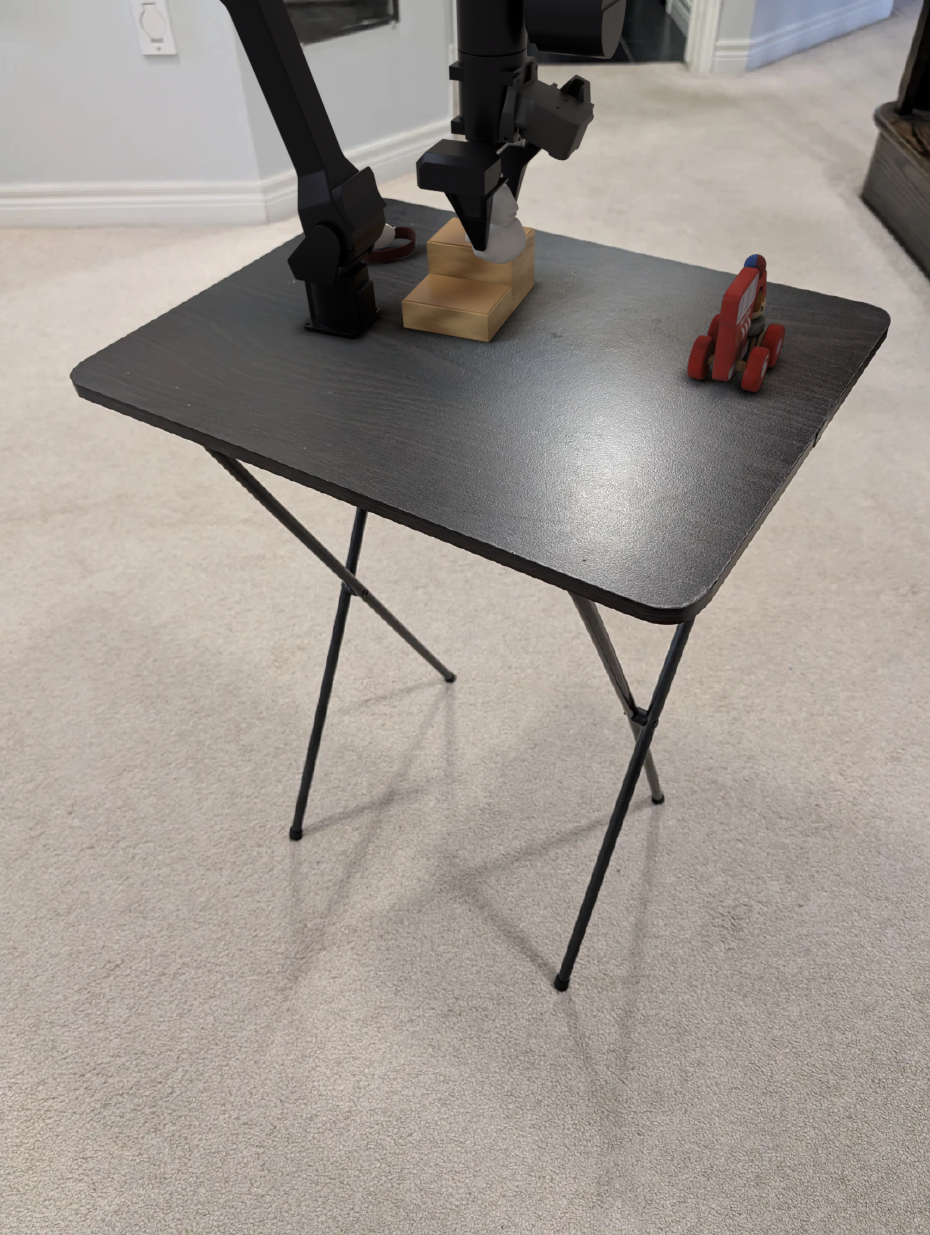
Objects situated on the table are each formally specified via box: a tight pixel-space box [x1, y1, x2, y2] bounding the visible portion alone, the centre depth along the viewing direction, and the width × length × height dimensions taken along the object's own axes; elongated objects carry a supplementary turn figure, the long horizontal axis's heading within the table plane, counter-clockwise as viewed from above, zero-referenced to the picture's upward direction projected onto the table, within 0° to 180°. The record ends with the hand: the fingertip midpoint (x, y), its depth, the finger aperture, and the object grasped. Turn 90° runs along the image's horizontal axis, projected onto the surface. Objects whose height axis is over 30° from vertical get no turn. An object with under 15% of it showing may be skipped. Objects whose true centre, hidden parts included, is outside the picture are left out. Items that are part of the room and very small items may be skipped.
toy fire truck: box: [686, 253, 786, 393], centre depth 84 cm, size 7×12×10 cm, turn 151°
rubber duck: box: [465, 174, 526, 264], centre depth 83 cm, size 5×7×8 cm
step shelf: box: [401, 217, 536, 343], centre depth 97 cm, size 10×14×7 cm
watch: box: [362, 223, 417, 263], centre depth 109 cm, size 8×5×4 cm, turn 115°
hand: (492, 238), depth 84 cm, fingers closed on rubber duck, 5 cm apart
